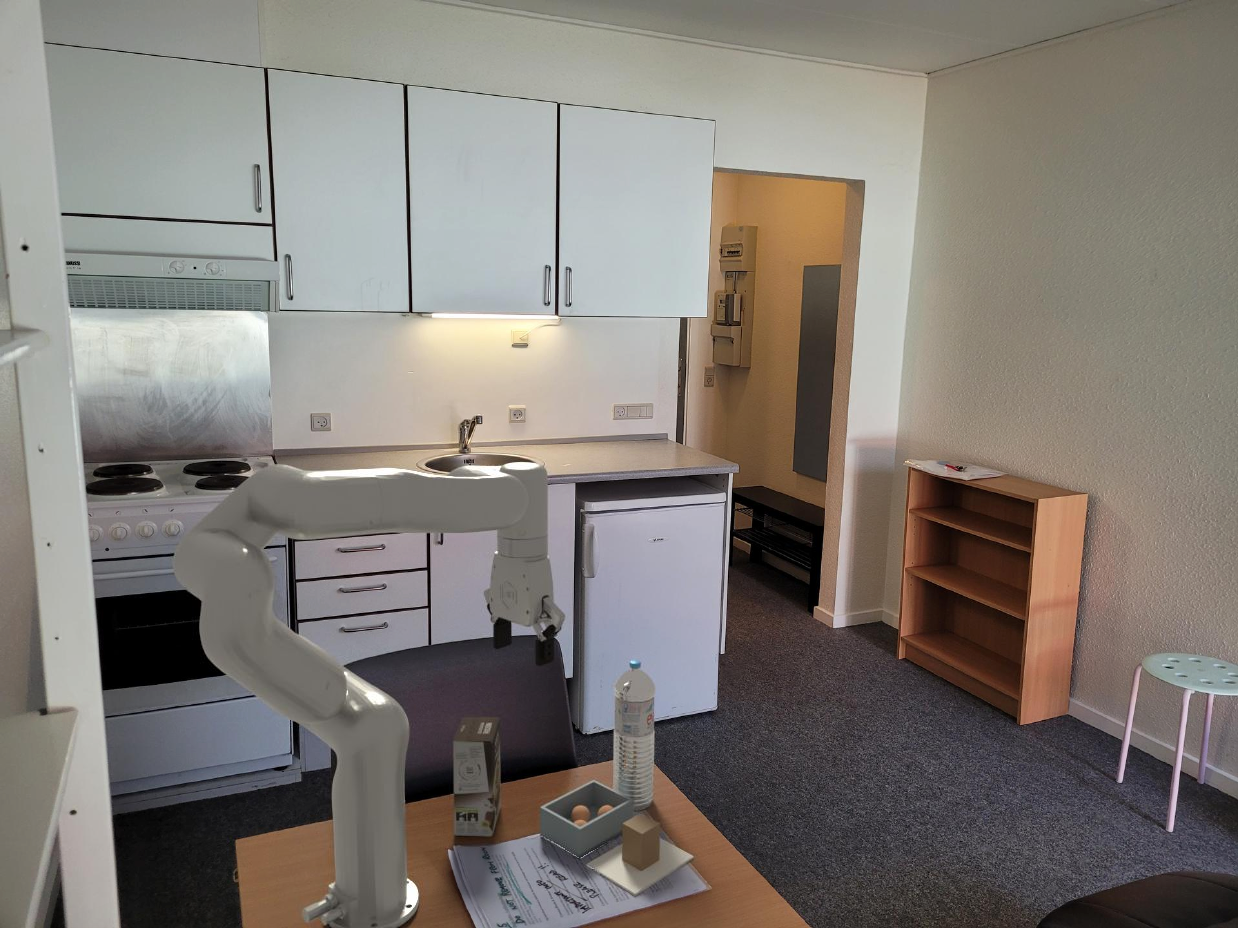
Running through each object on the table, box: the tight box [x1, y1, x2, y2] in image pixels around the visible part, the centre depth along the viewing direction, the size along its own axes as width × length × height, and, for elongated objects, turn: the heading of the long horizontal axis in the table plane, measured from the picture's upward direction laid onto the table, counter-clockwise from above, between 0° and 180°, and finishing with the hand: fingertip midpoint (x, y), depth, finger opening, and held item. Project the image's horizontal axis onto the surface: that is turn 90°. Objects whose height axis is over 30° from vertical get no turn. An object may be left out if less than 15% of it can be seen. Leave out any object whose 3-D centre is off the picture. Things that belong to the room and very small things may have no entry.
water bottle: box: [612, 659, 656, 812], centre depth 154 cm, size 7×7×25 cm
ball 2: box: [574, 820, 587, 827], centre depth 143 cm, size 3×3×3 cm
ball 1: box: [571, 805, 590, 822], centre depth 148 cm, size 3×3×3 cm
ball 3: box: [598, 805, 613, 817], centre depth 148 cm, size 3×3×3 cm
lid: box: [586, 813, 695, 897], centre depth 139 cm, size 13×10×7 cm
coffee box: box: [452, 716, 502, 837], centre depth 149 cm, size 9×6×16 cm
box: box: [539, 779, 635, 858], centre depth 147 cm, size 12×9×5 cm
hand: (523, 654), depth 140 cm, fingers open, 9 cm apart
